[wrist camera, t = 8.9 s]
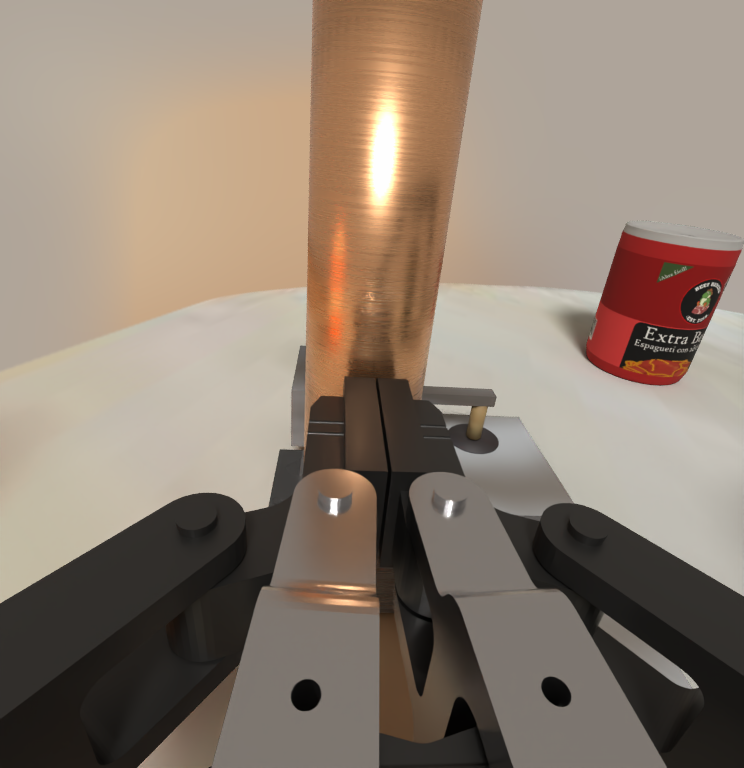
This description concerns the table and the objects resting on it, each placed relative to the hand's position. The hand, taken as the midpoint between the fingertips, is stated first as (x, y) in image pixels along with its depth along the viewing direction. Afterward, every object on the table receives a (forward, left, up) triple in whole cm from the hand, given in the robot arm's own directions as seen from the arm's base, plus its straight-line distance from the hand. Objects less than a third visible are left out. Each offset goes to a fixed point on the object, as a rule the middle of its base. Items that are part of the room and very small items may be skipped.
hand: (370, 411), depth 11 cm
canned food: (-33, +9, -9) cm, 35 cm away
